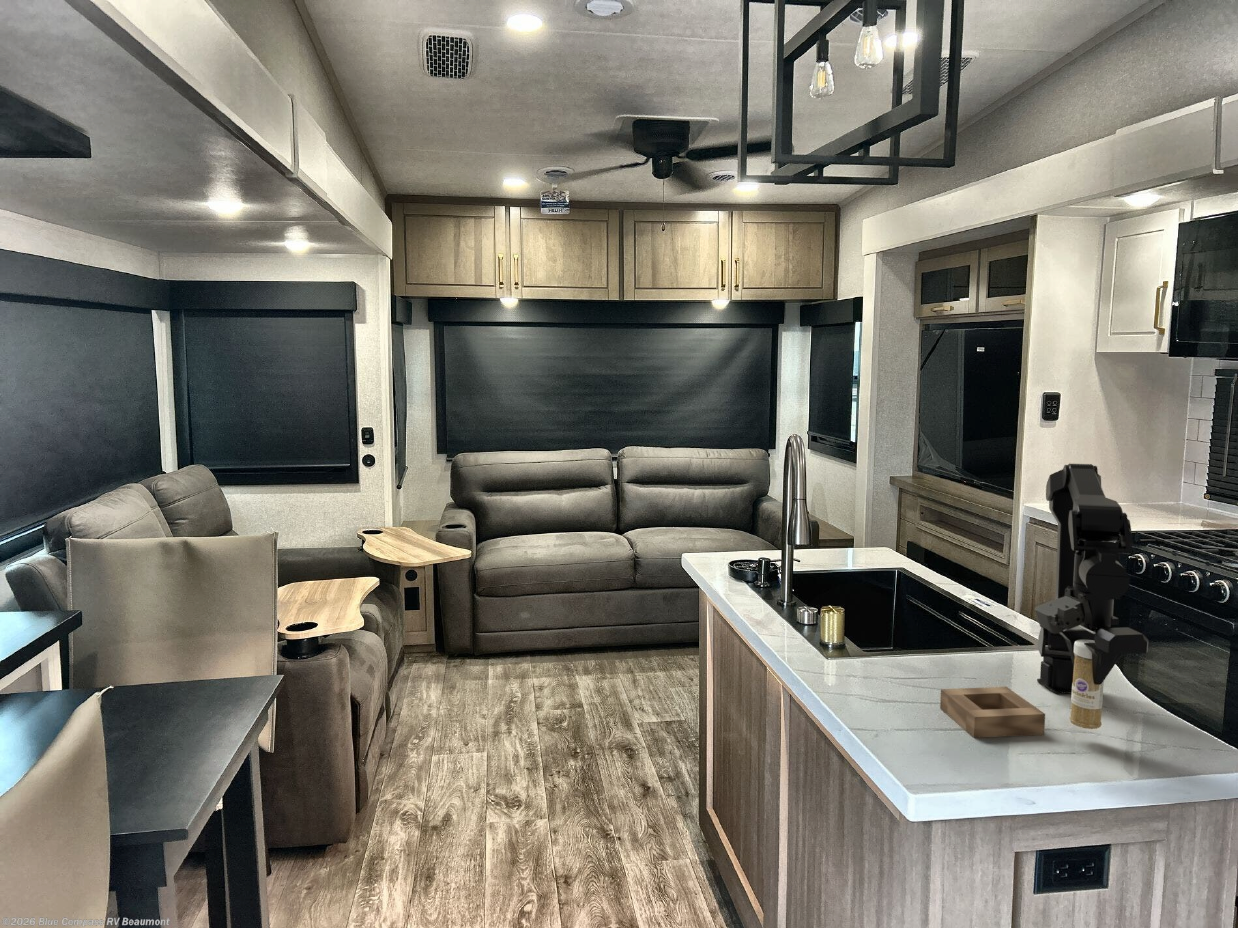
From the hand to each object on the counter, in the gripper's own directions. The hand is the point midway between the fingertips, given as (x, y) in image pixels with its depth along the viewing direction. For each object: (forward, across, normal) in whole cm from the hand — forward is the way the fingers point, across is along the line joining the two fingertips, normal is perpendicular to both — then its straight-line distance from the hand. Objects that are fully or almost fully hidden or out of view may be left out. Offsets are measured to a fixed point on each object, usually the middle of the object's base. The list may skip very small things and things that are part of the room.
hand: (1088, 678), depth 137 cm
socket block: (+10, -9, -11) cm, 18 cm away
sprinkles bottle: (+8, 0, 0) cm, 8 cm away
